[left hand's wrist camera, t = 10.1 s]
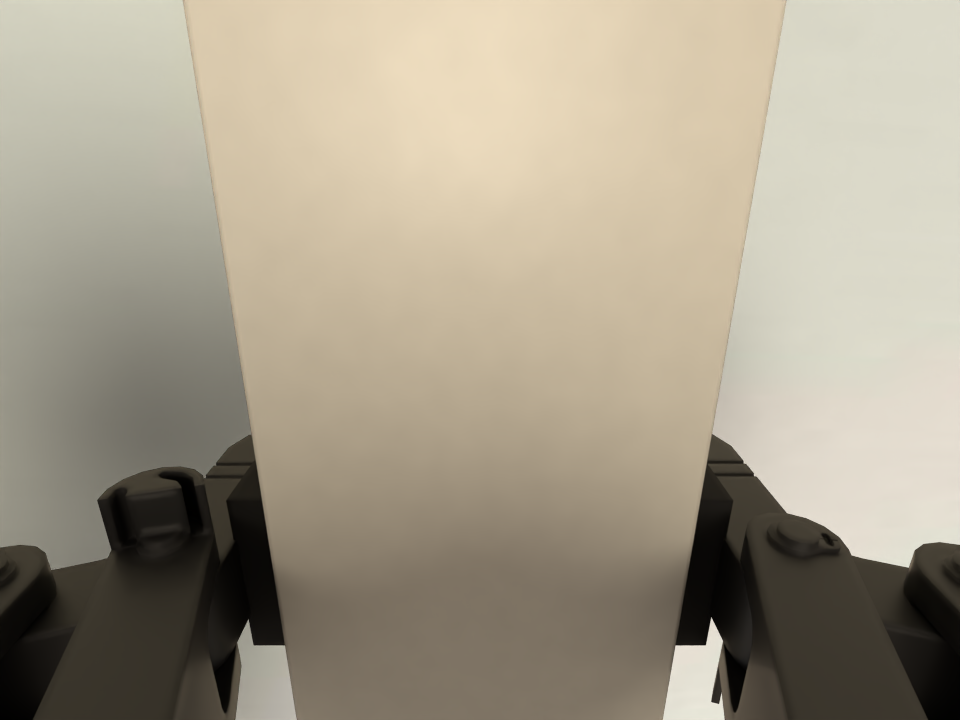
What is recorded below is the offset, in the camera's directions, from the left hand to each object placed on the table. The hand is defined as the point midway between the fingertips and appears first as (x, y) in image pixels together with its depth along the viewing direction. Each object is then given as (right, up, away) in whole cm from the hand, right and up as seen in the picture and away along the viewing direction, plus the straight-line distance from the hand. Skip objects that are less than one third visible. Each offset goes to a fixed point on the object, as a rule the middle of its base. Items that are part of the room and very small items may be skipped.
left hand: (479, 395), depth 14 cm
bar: (0, +17, -6) cm, 19 cm away
